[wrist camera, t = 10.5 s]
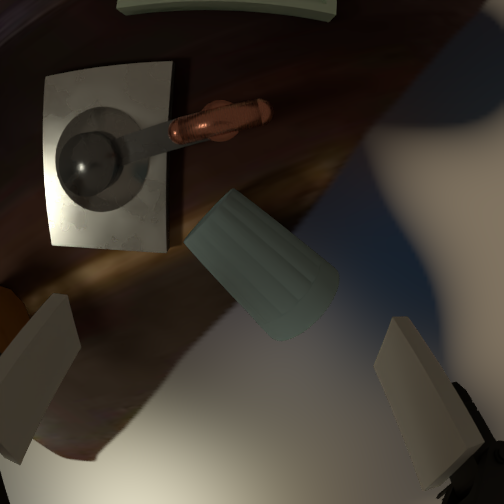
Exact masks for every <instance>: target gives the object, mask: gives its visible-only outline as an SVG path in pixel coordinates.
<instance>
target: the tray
mask: <svg viewBox="0 0 504 504" xmlns="http://www.w3.org/2000/svg"><path fill="white" fill-rule="evenodd" d="M336 8H337V0H118V1H117V7H116V9H118V10H119V11H120V12H121V13H123V14H124V15H125V16H126V15H134V14H142V13H152V12H165V11H182V10H232V11H250V12H263V13H273V14H281V15H289V16H296V17H303V18H309V19H315V20H320V21H326V22H330V21H331V20H332V18H333V17H334V16H335V15H336Z"/></svg>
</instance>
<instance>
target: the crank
mask: <svg viewBox="0 0 504 504" xmlns="http://www.w3.org/2000/svg"><path fill="white" fill-rule="evenodd" d="M273 115H274V109H273V106H272V105H271V103H270V102H268V101H267V100H265V99H261V98H257V99H252V100H247V101H242V102H238V103H231V102H229V101H225V100H216V101H213V102H210V103H209V104H207V105H206V106H205V107H204V108H203V109H202V111H201V112H197V113H193V114H190V115H186V116H183V117H179V118H176V119H173V120H170V121H166V122H163V123H160V124H157V125H154V126H151V127H148V128H145V129H142V130H139V131H136V132H133V133H130V134H127V135H124V136H122V137H119V138H115V137H114V136H113V135H112V134H110V133H108V132H105V131H92V132H85V133H80V134H77V135H75V136H73V137H72V138H70V139H69V140H68V141H67V143H66V144H65V145H64V147H63V149H62V151H61V154H60V158H59V172H60V176H61V179H62V181H63V183H64V184H65V186H66V187H67V188H68V189H69V190H70V191H71V192H73V193H74V194H76V195H79V196H83V197H90V196H94V195H96V194H98V193H100V192H102V191H103V190H105V189H107V188H108V187H110V186H112V185H113V184H114V183H115V182H116V181H117V180H118V179H119V178H120V176H121V174H122V171H123V168H124V165H127V164H130V163H133V162H136V161H139V160H142V159H145V158H148V157H151V156H155V155H158V154H161V153H164V152H168V151H171V150H175V149H178V148H182V147H185V146H189V145H193V144H196V143H200V142H204V141H208V140H213V141H216V142H223V141H227V140H230V139H231V138H233V137H234V136H235V135H236V134H237V133H238V132H239V131H240V130H245V129H249V128H254V127H259V126H263V125H266V124H268V123H269V122H270V121H271V120H272V118H273Z"/></svg>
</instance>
